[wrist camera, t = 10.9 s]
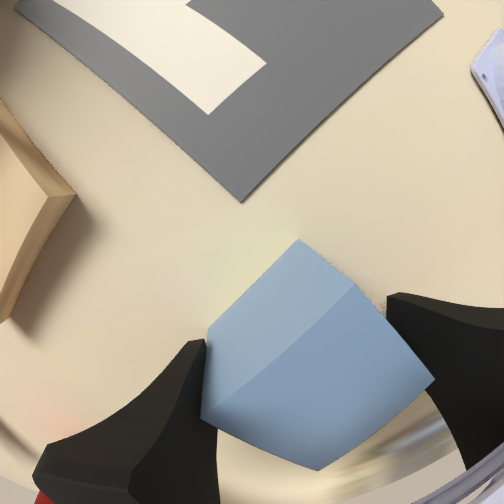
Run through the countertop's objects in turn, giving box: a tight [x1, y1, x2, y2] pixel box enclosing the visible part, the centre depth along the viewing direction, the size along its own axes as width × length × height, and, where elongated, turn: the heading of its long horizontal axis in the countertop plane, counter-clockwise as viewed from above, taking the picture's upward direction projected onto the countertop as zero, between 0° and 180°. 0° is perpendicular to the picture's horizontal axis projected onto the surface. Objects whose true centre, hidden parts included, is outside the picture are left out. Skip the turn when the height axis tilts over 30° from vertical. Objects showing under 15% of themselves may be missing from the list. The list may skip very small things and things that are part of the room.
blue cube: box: [200, 239, 435, 471], centre depth 9 cm, size 5×5×5 cm
